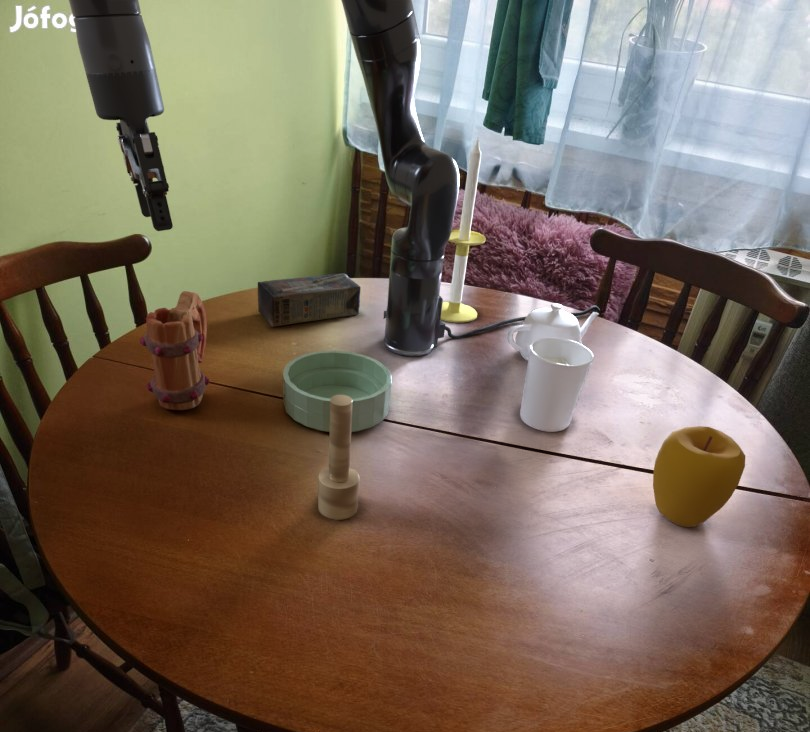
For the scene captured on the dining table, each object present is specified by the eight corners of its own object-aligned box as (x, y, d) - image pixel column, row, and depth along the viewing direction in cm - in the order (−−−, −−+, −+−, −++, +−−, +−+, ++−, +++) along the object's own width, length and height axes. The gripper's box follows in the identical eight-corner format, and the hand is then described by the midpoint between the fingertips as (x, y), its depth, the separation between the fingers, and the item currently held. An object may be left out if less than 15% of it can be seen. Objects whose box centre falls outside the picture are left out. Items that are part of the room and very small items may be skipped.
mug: (192, 422, 104) (180, 326, 94) (141, 413, 104) (124, 317, 95) (230, 379, 115) (223, 289, 105) (184, 370, 115) (172, 280, 106)
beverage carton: (361, 315, 139) (362, 283, 135) (272, 329, 130) (270, 295, 126) (343, 300, 144) (344, 268, 140) (255, 313, 135) (254, 279, 131)
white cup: (538, 398, 119) (554, 331, 111) (586, 422, 114) (606, 354, 107) (503, 415, 114) (517, 347, 106) (551, 441, 109) (569, 371, 101)
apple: (644, 482, 102) (673, 405, 94) (719, 504, 100) (756, 427, 91) (633, 523, 94) (664, 444, 86) (714, 548, 92) (755, 468, 83)
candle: (482, 309, 147) (511, 136, 126) (469, 326, 140) (497, 145, 119) (438, 299, 149) (459, 127, 128) (423, 315, 142) (442, 135, 121)
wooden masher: (344, 491, 94) (348, 385, 84) (365, 512, 91) (372, 405, 81) (310, 502, 92) (310, 394, 81) (330, 524, 88) (333, 415, 78)
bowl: (353, 375, 119) (355, 343, 116) (408, 420, 110) (412, 386, 106) (266, 396, 111) (264, 362, 107) (317, 447, 102) (317, 411, 98)
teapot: (570, 337, 140) (583, 287, 133) (608, 364, 132) (623, 313, 125) (485, 348, 133) (495, 296, 126) (520, 378, 124) (532, 324, 118)
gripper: (166, 67, 73) (199, 230, 83) (143, 62, 83) (176, 207, 93) (92, 72, 71) (136, 240, 81) (78, 66, 81) (118, 215, 91)
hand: (157, 222), depth 87 cm, fingers open, 8 cm apart
